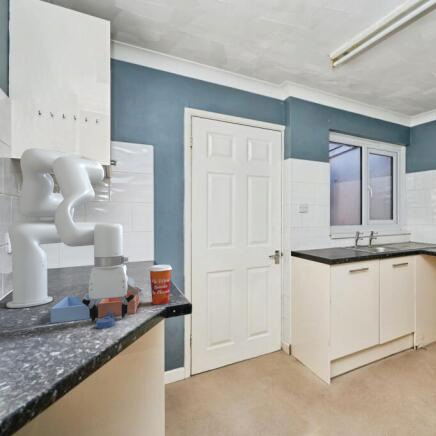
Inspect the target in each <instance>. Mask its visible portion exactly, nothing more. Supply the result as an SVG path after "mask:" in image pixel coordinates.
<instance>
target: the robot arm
mask: <svg viewBox="0 0 436 436" xmlns="http://www.w3.org/2000/svg"><path fill="white" fill-rule="evenodd" d="M19 161H20V162H19V163H20V169H21V174H22V183H21V188H20V195H19V202H18V212H19V213H20V214H21V215H22V216H24V217H27V218H30V219H19V220H16V221H14V222H12V223H11V224H10V225H9V226H8V229H7V233H8V239H9V242H10V246H11V263H12V264H11V268H12V269H11V270H12V272H11V273H12V274H11V277H12V279H11V280H12V300H11V301H8V302H7V303H6V308H8V309H21V308H29V307H30V308H31V307H36V306H41V305H42V306H43V305H45V304H48V303H51V302H53V301H54V298H53V296H48V255H47V252H46V251H45V250H44V249H43V248H42V247H40V245H50V244H52V245H53V244H61V243H63V244H64V245H65V246H68V247H71V248H72V247H88V246H93V266H92V267H91V269H90V272H89V273H90V274H89V281H88V287H87V288H85V289H84V290H82V292H80V293H79V294H77V295H76V296H77V298H78V299H79V300H80V301H81V302H82V303H83V304H85V305H86V306H87V307H88V308H89V315H90V318H91V322H94V321H96V319H97V318H98V311H97V306H95V303H96V301H97V300H98V299H108V298H118V297H119V298H120V299H121V301H122V302H123V304H122V315H121V318H125V316H126V315H128V314H127V313H128V302H130V301H131V300H132V299H133V298H134V296H135V295H136V294H137V293H138V292H139V290H138V289H137V288H135V287H136V286H135V287H133V286H132V285H130V284H129V283H128V276H129V275H128V274H129V273H128V267H127V265H126V264H124V263H126V262H127V263H128V262H129V257H128V256H127V257H126V256H124V228H123V225H122V224H121V223H118V222H106V221H79V222H77V221H76V222H74V220H73V219H74V213H75V209H76V208H77V207H81V206H83V205H86V204H88V203H90V202H92V201H93V200H94V199H95V197H96V193H95V190H94V187H93V185H92V184H99V183H101V182H102V181H103V180H104V178H105V170H104V167H103V165H102V164H101V163H100V162H99V161H97V160H96V159H92V158H89V157H87V156H84V155H80V154H75V153H71V152H63V151H58V150H52V149H45V148H28V149H25V150H24V151H23V152H22V154H21V156H20V160H19ZM52 175H54V177H55V180H56V182H57V185H58V188H59V190H60V193H59V192H54V188H55V180H54V178H53V177H52ZM31 218H35V219H31ZM36 218H37V219H36ZM39 218H40V219H39ZM41 218H51V219H41ZM128 290H131V291H132V294H131V295H130V296H129V297H128V298H127V296H126V294H127V293H128ZM85 295H88V296H89V298H90V299H92V300H91V301H90V300H88V299H87V298H86V297H85Z"/></svg>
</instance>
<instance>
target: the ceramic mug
mask: <svg viewBox="0 0 436 436" xmlns="http://www.w3.org/2000/svg"><path fill="white" fill-rule="evenodd" d="M128 283H129V284H130V285H132V286H133V287H135V288H137V289H138V290H140V296H141V295H142V294H143V290H142V289H141V288H140V287H138V286H136V281H135V280H134V278H133V277H131V276H129V275H128ZM128 291H131V290H128Z"/></svg>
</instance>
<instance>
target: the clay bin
mask: <svg viewBox="0 0 436 436" xmlns="http://www.w3.org/2000/svg"><path fill="white" fill-rule="evenodd" d="M131 294H132V291H128V293H127V294H126V296H127V298H128V297H129V296H130V295H131ZM140 298H141V295H140V290H139V292H138V293H137V294H136V295H135V296H134V298H133V299H132V300H131V301H130V302H128V313H127V314H126V315H134V314H136V312H137V310H138V307H139V304H140V302H141V301H140V300H141V299H140ZM120 300H121V299H120V298H119V297H118V298H108V299H102V300H101V301H100V303H99V304H98V311H97V318H98V319H100V318H105V316H106V315H107V313H108V312H113V317H115V316H122V304H123V302H122V301H120Z"/></svg>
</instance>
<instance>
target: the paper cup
mask: <svg viewBox="0 0 436 436" xmlns="http://www.w3.org/2000/svg"><path fill="white" fill-rule="evenodd" d="M172 269H173V267H172V266H171V265H170V264H155V265H151V266H150V268H149V269H148V272H149V277H150V287H151V288H150V291H151V303H152V305H158V306H159V305H165V304H168V303H170V292H171V277H172Z"/></svg>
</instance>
